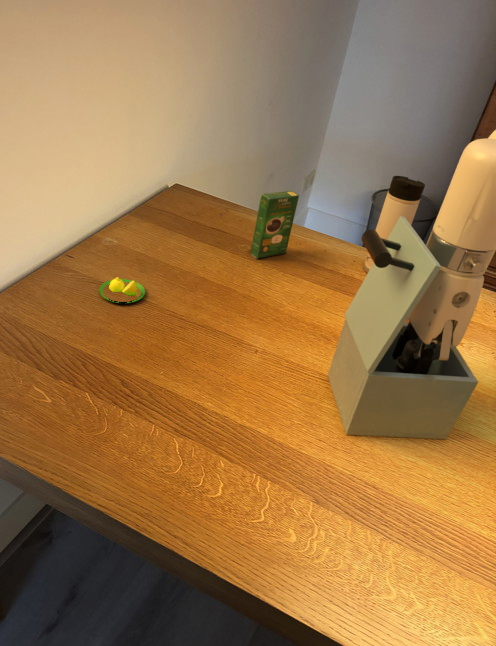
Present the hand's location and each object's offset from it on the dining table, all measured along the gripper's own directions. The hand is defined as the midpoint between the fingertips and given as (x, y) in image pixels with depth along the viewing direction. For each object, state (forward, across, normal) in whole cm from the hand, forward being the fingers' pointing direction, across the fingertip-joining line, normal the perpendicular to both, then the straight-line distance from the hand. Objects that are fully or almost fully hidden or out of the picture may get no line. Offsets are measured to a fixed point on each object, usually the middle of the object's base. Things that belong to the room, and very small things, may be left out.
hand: (407, 367), depth 77 cm
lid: (-11, 0, +6) cm, 13 cm away
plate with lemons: (+8, +26, +42) cm, 50 cm away
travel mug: (+8, +42, -10) cm, 44 cm away
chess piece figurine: (+7, 0, 0) cm, 7 cm away
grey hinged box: (+8, 0, +1) cm, 8 cm away
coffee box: (+8, +46, +13) cm, 48 cm away
